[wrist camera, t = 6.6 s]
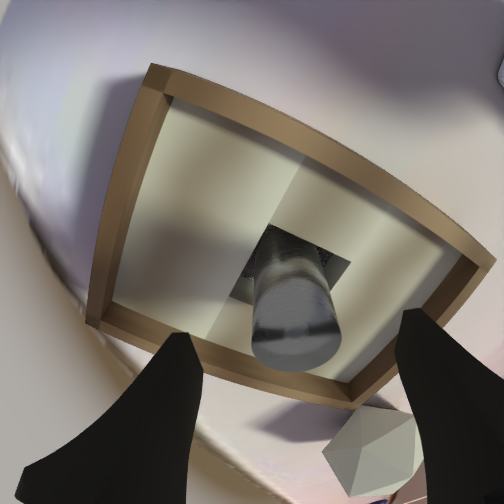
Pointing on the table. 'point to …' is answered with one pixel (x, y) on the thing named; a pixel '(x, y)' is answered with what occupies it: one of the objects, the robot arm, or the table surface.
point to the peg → (292, 305)
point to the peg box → (250, 231)
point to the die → (375, 451)
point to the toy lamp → (381, 502)
